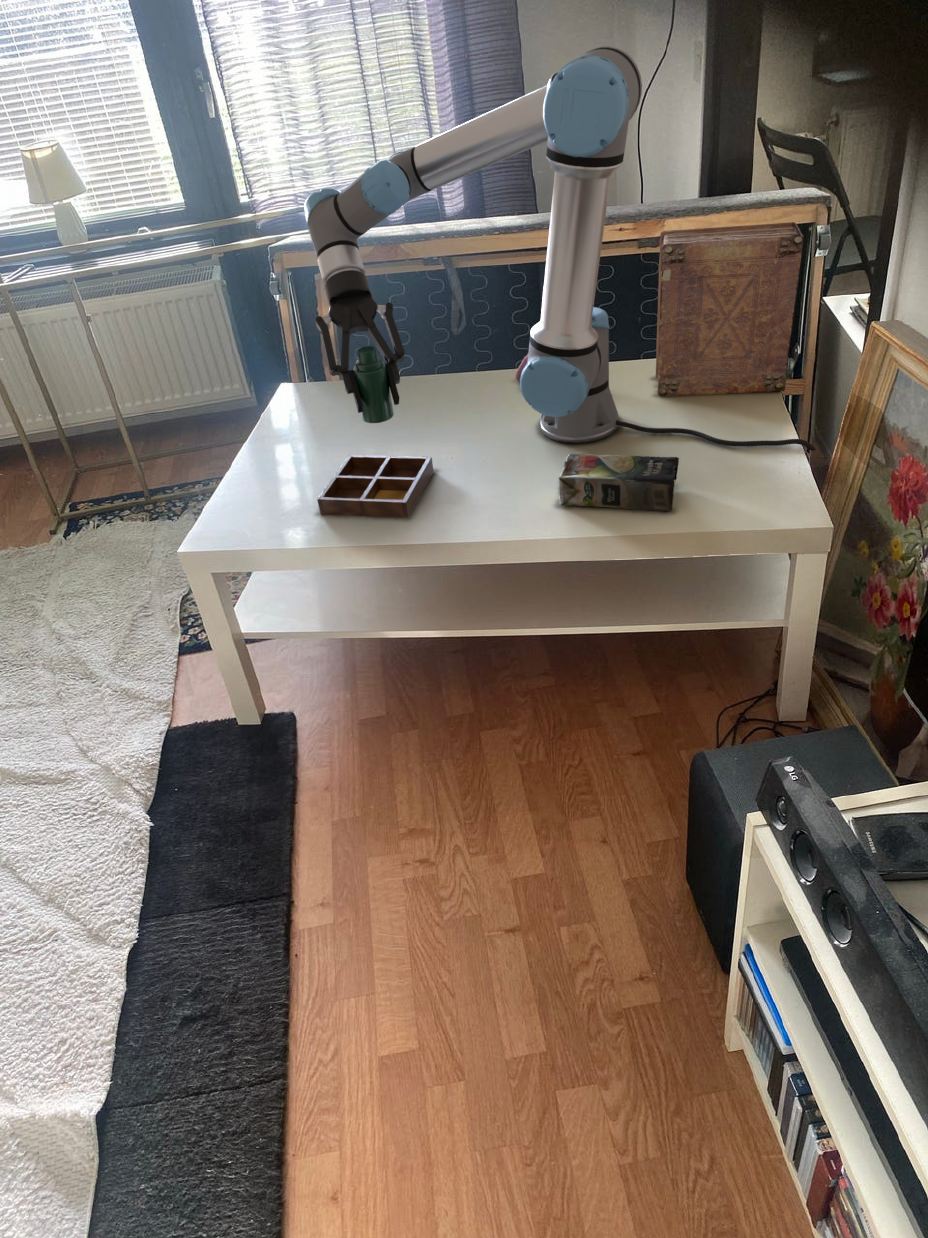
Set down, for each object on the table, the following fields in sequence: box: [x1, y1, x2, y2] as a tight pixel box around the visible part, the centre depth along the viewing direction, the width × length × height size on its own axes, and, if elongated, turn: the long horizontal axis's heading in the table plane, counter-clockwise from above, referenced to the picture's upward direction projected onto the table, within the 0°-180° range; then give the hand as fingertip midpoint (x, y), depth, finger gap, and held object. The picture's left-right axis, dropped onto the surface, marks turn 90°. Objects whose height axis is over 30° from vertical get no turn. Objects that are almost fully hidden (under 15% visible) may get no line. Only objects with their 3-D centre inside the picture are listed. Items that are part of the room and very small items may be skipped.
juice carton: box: [557, 453, 680, 512], centre depth 155 cm, size 20×10×6 cm, turn 74°
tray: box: [316, 454, 434, 519], centre depth 165 cm, size 17×17×3 cm
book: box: [655, 221, 805, 397], centre depth 179 cm, size 25×9×30 cm, turn 81°
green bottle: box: [352, 345, 395, 424], centre depth 154 cm, size 6×6×12 cm
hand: (378, 405), depth 152 cm, fingers closed on green bottle, 6 cm apart
